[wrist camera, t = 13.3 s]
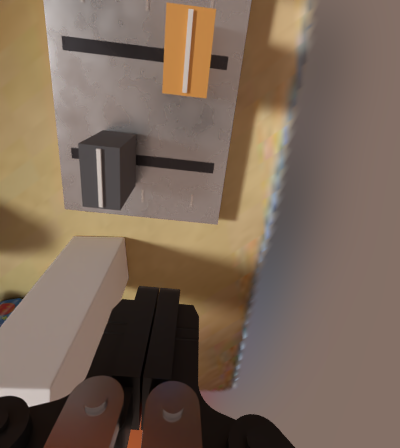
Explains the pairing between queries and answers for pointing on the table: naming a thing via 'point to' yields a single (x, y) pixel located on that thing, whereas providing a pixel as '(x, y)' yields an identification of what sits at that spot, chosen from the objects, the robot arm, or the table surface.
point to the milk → (62, 320)
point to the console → (144, 101)
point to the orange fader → (187, 49)
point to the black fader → (107, 169)
